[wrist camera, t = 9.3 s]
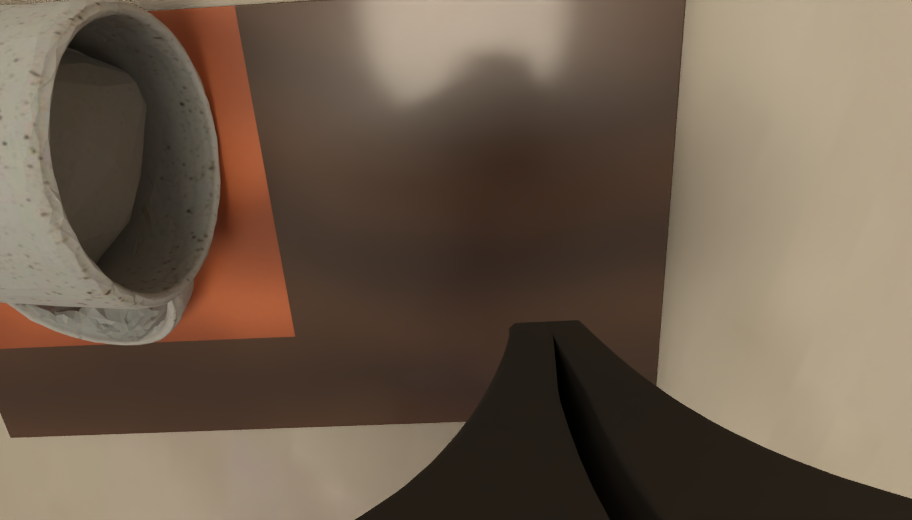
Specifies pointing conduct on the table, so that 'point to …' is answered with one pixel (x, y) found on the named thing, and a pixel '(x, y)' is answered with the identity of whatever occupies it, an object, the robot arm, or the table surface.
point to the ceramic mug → (102, 170)
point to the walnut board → (392, 215)
